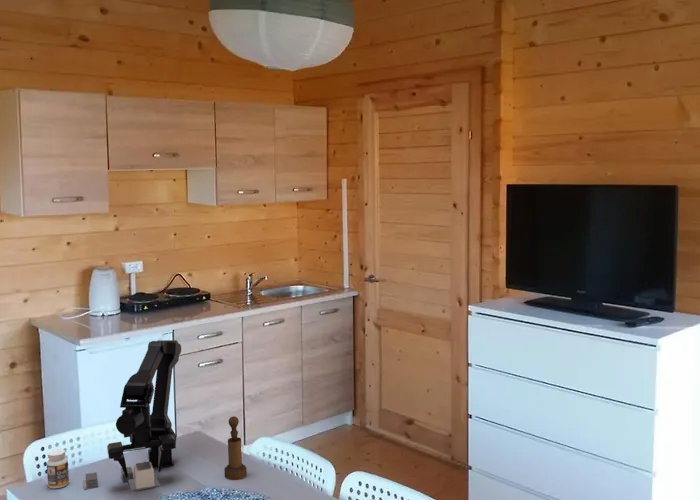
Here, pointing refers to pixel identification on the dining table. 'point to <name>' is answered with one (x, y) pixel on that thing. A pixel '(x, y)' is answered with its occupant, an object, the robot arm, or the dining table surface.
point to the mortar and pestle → (234, 454)
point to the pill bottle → (57, 469)
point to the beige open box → (143, 475)
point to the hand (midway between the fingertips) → (143, 474)
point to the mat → (133, 488)
